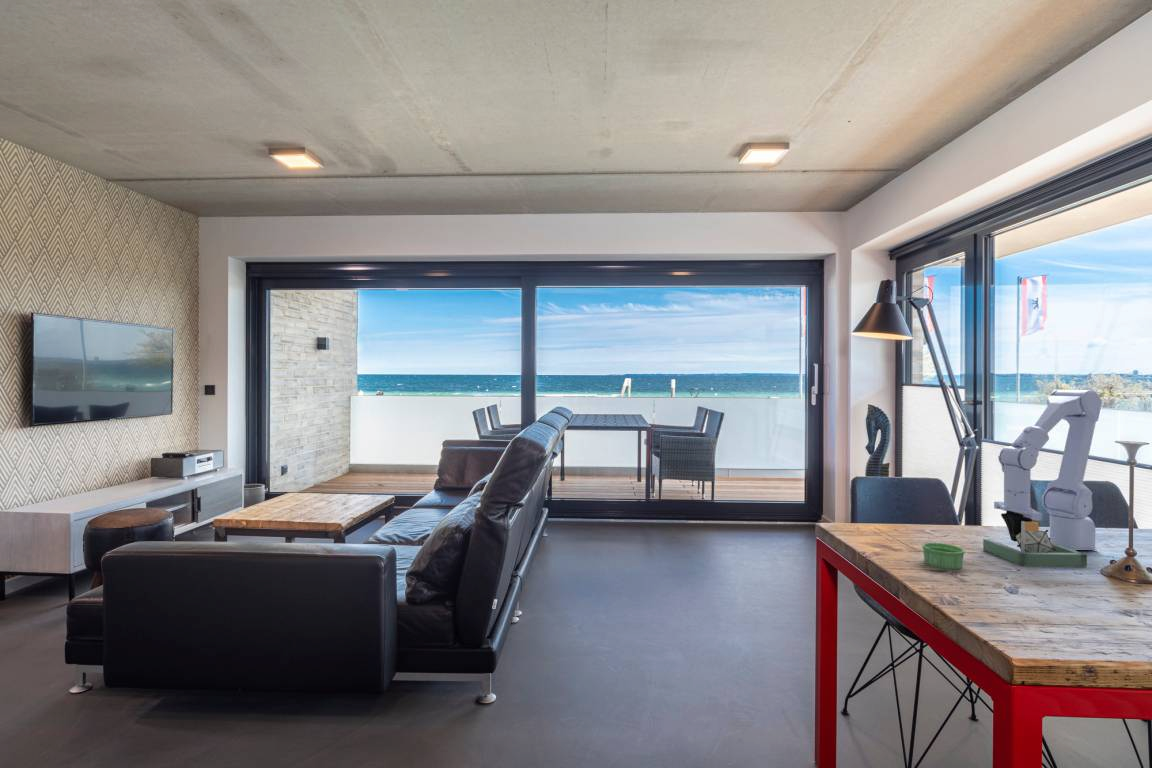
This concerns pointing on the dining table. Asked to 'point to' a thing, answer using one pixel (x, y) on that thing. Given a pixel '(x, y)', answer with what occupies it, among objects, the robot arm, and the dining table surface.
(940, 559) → the ramekin
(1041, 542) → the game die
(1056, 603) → the dining table surface
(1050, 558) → the green tray
